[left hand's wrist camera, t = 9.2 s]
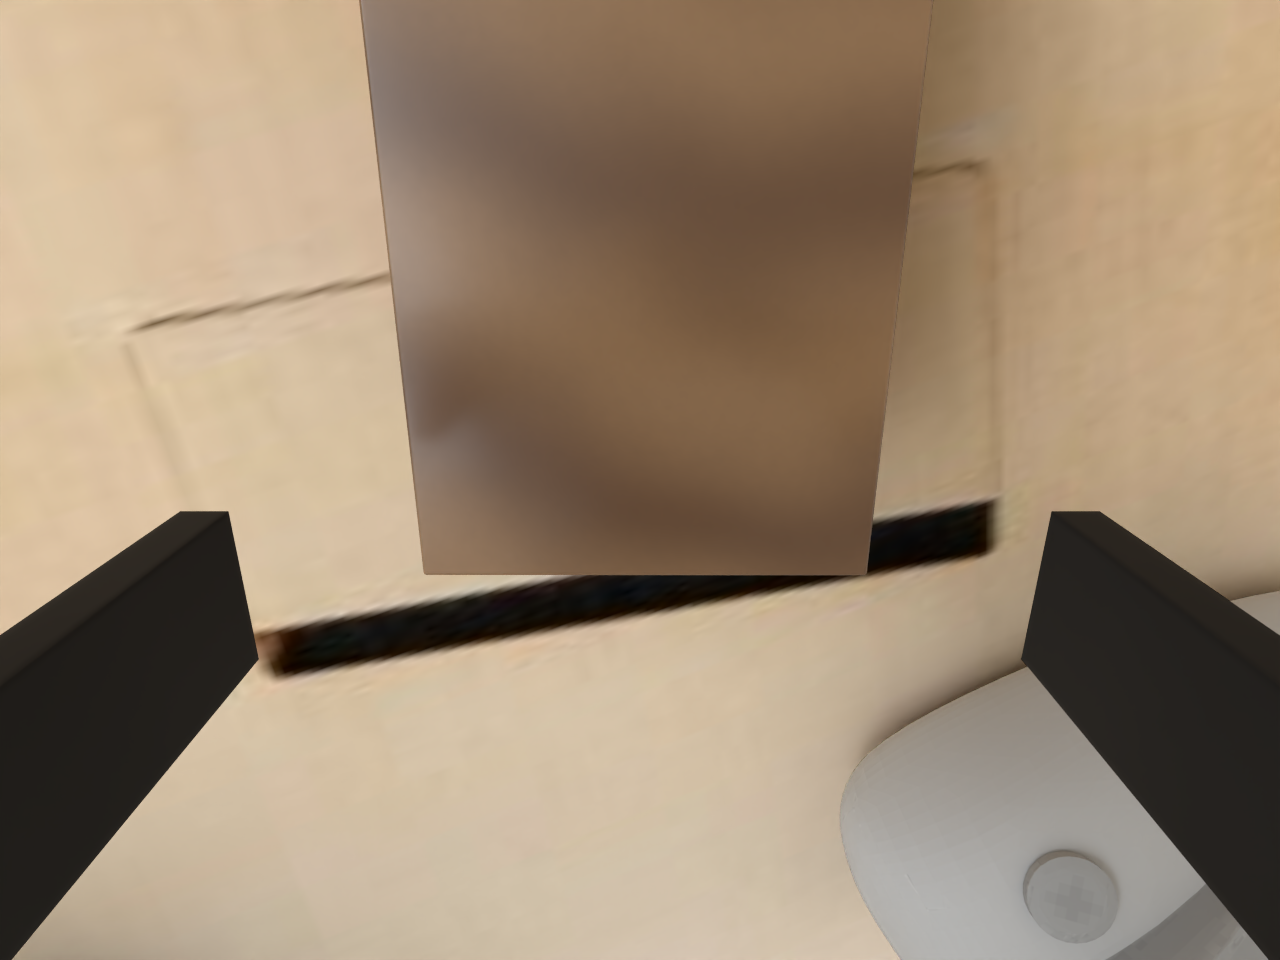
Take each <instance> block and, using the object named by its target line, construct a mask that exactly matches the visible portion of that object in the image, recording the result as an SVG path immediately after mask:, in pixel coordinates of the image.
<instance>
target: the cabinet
mask: <svg viewBox="0 0 1280 960" xmlns="http://www.w3.org/2000/svg"><path fill="white" fill-rule="evenodd" d="M359 3H360V12H361V21H362V29H363V38H364V47H365V56H366V65H367V74H368V83H369V91H370V100H371V109H372V118H373V127H374V136H375V145H376V154H377V162H378V171H379V180H380V189H381V198H382V207H383V216H384V224H385V233H386V242H387V251H388V260H389V269H390V278H391V287H392V295H393V304H394V313H395V322H396V331H397V340H398V349H399V357H400V366H401V375H402V384H403V393H404V402H405V411H406V419H407V428H408V437H409V446H410V455H411V464H412V473H413V482H414V490H415V499H416V508H417V517H418V526H419V535H420V544H421V552H422V561H423V570H424V574H426V575H866V573H867V565H868V556H869V548H870V539H871V530H872V522H873V513H874V505H875V496H876V487H877V479H878V470H879V462H880V453H881V445H882V436H883V427H884V419H885V410H886V402H887V393H888V385H889V376H890V367H891V359H892V350H893V342H894V333H895V324H896V316H897V307H898V299H899V290H900V282H901V273H902V264H903V256H904V247H905V239H906V230H907V222H908V213H909V204H910V196H911V187H912V179H913V170H914V161H915V153H916V144H917V136H918V127H919V119H920V110H921V101H922V93H923V84H924V76H925V67H926V59H927V50H928V41H929V33H930V24H931V16H932V7H933V0H359Z"/></svg>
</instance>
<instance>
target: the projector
mask: <svg viewBox="0 0 1280 960" xmlns="http://www.w3.org/2000/svg"><path fill="white" fill-rule="evenodd" d="M1231 602H1232V603H1234V604H1235V605H1237V606H1238V607H1239V608H1241V609H1242V610H1244V611H1245V612H1247V613H1248V614H1250V615H1251V616H1253V617H1254V618H1255V619H1257V620H1258V621H1260V622H1261V623H1263V624H1264V625H1266V626H1267V627H1269V628H1270V629H1271V630H1273V631H1274V632H1276V633H1277V634H1279V635H1280V591H1275V592H1270V593H1264V594H1259V595H1254V596H1249V597H1245V598H1240V599H1236V600H1231ZM840 829H841V836H842V842H843V845H844V849H845V853H846V857H847V861H848V864H849V867H850V870H851V873H852V875H853V878H854V881H855V883H856V885H857V888H858V890H859V892H860V894H861V896H862V898H863V900H864V902H865V904H866V906H867V908H868V909H869V911H870V913H871V915H872V916H873V918H874V920H875V921H876V923H877V925H878V926H879V928H880V929H881V931H882V932H883V934H884V935H885V937H886V939H887V940H888V942H889V943H890V945H891V946H892V948H893V949H894V951H895V952H896V953H897V955H898V956H899V958H900V959H901V960H1268V959H1267V957H1266V956H1265V955H1264V954H1263V952H1262V951H1261V950H1260V949H1259V948H1258V946H1257V945H1256V944H1255V943H1254V942H1253V940H1252V939H1251V938H1250V937H1249V935H1248V934H1247V933H1246V932H1245V931H1244V929H1243V928H1242V927H1241V926H1240V924H1239V923H1238V922H1237V921H1236V920H1235V918H1234V917H1233V916H1232V915H1231V914H1230V912H1229V911H1228V910H1227V909H1226V907H1225V906H1224V905H1223V904H1222V903H1221V901H1220V900H1219V899H1218V898H1217V897H1216V895H1215V894H1214V893H1213V892H1212V890H1211V889H1210V888H1209V887H1208V886H1207V884H1206V883H1205V882H1204V881H1203V879H1202V878H1201V877H1200V876H1199V875H1198V873H1197V872H1196V871H1195V870H1194V869H1193V867H1192V866H1191V865H1190V864H1189V862H1188V861H1187V860H1186V859H1185V858H1184V856H1183V855H1182V854H1181V853H1180V852H1179V850H1178V849H1177V848H1176V847H1175V845H1174V844H1173V843H1172V842H1171V841H1170V839H1169V838H1168V837H1167V836H1166V835H1165V833H1164V832H1163V831H1162V830H1161V828H1160V827H1159V826H1158V825H1157V824H1156V822H1155V821H1154V820H1153V819H1152V817H1151V816H1150V815H1149V814H1148V813H1147V811H1146V810H1145V809H1144V808H1143V807H1142V805H1141V804H1140V803H1139V802H1138V800H1137V799H1136V798H1135V797H1134V796H1133V794H1132V793H1131V792H1130V791H1129V790H1128V788H1127V787H1126V786H1125V785H1124V783H1123V782H1122V781H1121V780H1120V779H1119V777H1118V776H1117V775H1116V774H1115V772H1114V771H1113V770H1112V769H1111V768H1110V766H1109V765H1108V764H1107V763H1106V762H1105V760H1104V759H1103V758H1102V757H1101V755H1100V754H1099V753H1098V752H1097V751H1096V749H1095V748H1094V747H1093V746H1092V745H1091V743H1090V742H1089V741H1088V740H1087V738H1086V737H1085V736H1084V735H1083V734H1082V732H1081V731H1080V730H1079V729H1078V728H1077V726H1076V725H1075V724H1074V723H1073V721H1072V720H1071V719H1070V718H1069V717H1068V715H1067V714H1066V713H1065V712H1064V710H1063V709H1062V708H1061V707H1060V706H1059V704H1058V703H1057V702H1056V701H1055V700H1054V698H1053V697H1052V696H1051V695H1050V693H1049V692H1048V691H1047V690H1046V689H1045V687H1044V686H1043V685H1042V684H1041V683H1040V681H1039V680H1038V679H1037V678H1036V676H1035V675H1034V674H1033V673H1032V672H1031V670H1030V669H1029V668H1028V667H1025V668H1023V669H1021V670H1018V671H1016V672H1014V673H1011V674H1009V675H1007V676H1004V677H1002V678H1000V679H998V680H995V681H993V682H991V683H989V684H987V685H985V686H983V687H980V688H978V689H976V690H974V691H972V692H970V693H968V694H965V695H964V696H962V697H960V698H958V699H956V700H954V701H952V702H950V703H948V704H946V705H944V706H942V707H940V708H938V709H936V710H934V711H932V712H930V713H928V714H927V715H925V716H923V717H921V718H919V719H918V720H916V721H914V722H912V723H911V724H909V725H907V726H906V727H904V728H902V729H901V730H899V731H898V732H896V733H895V734H893V735H892V736H890V737H889V738H887V739H886V740H884V741H883V742H882V743H881V744H879V745H878V746H877V747H876V748H874V749H873V750H872V751H870V752H869V753H868V754H867V755H866V756H865V757H864V759H863V760H862V761H861V762H860V763H859V764H858V766H857V767H856V768H855V770H854V771H853V773H852V775H851V776H850V778H849V780H848V782H847V784H846V786H845V790H844V793H843V796H842V801H841V807H840Z"/></svg>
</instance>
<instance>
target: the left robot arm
mask: <svg viewBox="0 0 1280 960" xmlns="http://www.w3.org/2000/svg"><path fill="white" fill-rule="evenodd" d="M258 659H259V658H258V653H257V649H256V644H255V639H254V634H253V629H252V624H251V619H250V615H249V610H248V605H247V600H246V595H245V590H244V585H243V580H242V576H241V571H240V566H239V561H238V556H237V551H236V546H235V541H234V537H233V532H232V527H231V522H230V517H229V512H228V511H180V512H179V513H177V514H176V515H174V516H173V517H172V518H170V519H169V520H167V521H166V522H164V523H163V524H161V525H160V526H158V527H157V528H155V529H154V530H153V531H151V532H150V533H148V534H147V535H145V536H144V537H142V538H141V539H139V540H138V541H137V542H135V543H134V544H132V545H131V546H129V547H128V548H126V549H125V550H123V551H122V552H121V553H119V554H118V555H116V556H115V557H113V558H112V559H110V560H109V561H107V562H106V563H105V564H103V565H102V566H100V567H99V568H97V569H96V570H94V571H93V572H91V573H90V574H89V575H87V576H86V577H84V578H83V579H81V580H80V581H78V582H77V583H75V584H74V585H73V586H71V587H70V588H68V589H67V590H65V591H64V592H62V593H61V594H59V595H58V596H57V597H55V598H54V599H52V600H51V601H49V602H48V603H46V604H45V605H43V606H42V607H41V608H39V609H38V610H36V611H35V612H33V613H32V614H30V615H29V616H27V617H26V618H25V619H23V620H22V621H20V622H19V623H17V624H16V625H14V626H13V627H11V628H10V629H9V630H7V631H6V632H4V633H3V634H1V635H0V960H12V959H13V957H14V956H15V955H16V954H17V952H18V951H19V950H20V949H21V948H22V946H23V945H24V944H25V943H26V942H27V940H28V939H29V938H30V937H31V935H32V934H33V933H34V932H35V931H36V929H37V928H38V927H39V926H40V924H41V923H42V922H43V921H44V920H45V918H46V917H47V916H48V915H49V914H50V912H51V911H52V910H53V909H54V907H55V906H56V905H57V904H58V903H59V901H60V900H61V899H62V898H63V897H64V895H65V894H66V893H67V892H68V890H69V889H70V888H71V887H72V886H73V884H74V883H75V882H76V881H77V879H78V878H79V877H80V876H81V875H82V873H83V872H84V871H85V870H86V869H87V867H88V866H89V865H90V864H91V862H92V861H93V860H94V859H95V858H96V856H97V855H98V854H99V853H100V852H101V850H102V849H103V848H104V847H105V845H106V844H107V843H108V842H109V841H110V839H111V838H112V837H113V836H114V835H115V833H116V832H117V831H118V830H119V828H120V827H121V826H122V825H123V824H124V822H125V821H126V820H127V819H128V817H129V816H130V815H131V814H132V813H133V811H134V810H135V809H136V808H137V807H138V805H139V804H140V803H141V802H142V800H143V799H144V798H145V797H146V796H147V794H148V793H149V792H150V791H151V790H152V788H153V787H154V786H155V785H156V783H157V782H158V781H159V780H160V779H161V777H162V776H163V775H164V774H165V772H166V771H167V770H168V769H169V768H170V766H171V765H172V764H173V763H174V762H175V760H176V759H177V758H178V757H179V755H180V754H181V753H182V752H183V751H184V749H185V748H186V747H187V746H188V745H189V743H190V742H191V741H192V740H193V738H194V737H195V736H196V735H197V734H198V732H199V731H200V730H201V729H202V728H203V726H204V725H205V724H206V723H207V721H208V720H209V719H210V718H211V717H212V715H213V714H214V713H215V712H216V710H217V709H218V708H219V707H220V706H221V704H222V703H223V702H224V701H225V700H226V698H227V697H228V696H229V695H230V693H231V692H232V691H233V690H234V689H235V687H236V686H237V685H238V684H239V683H240V681H241V680H242V679H243V678H244V676H245V675H246V674H247V673H248V672H249V670H250V669H251V668H252V667H253V665H254V664H255V663H256V662H257V661H258ZM1021 659H1022V661H1023V662H1024V663H1025V664H1026V665H1027V667H1028V668H1029V669H1030V670H1031V672H1032V673H1033V674H1034V675H1035V676H1036V678H1037V679H1038V680H1039V681H1040V683H1041V684H1042V685H1043V686H1044V687H1045V689H1046V690H1047V691H1048V692H1049V693H1050V695H1051V696H1052V697H1053V698H1054V700H1055V701H1056V702H1057V703H1058V704H1059V706H1060V707H1061V708H1062V709H1063V710H1064V712H1065V713H1066V714H1067V715H1068V717H1069V718H1070V719H1071V720H1072V721H1073V723H1074V724H1075V725H1076V726H1077V728H1078V729H1079V730H1080V731H1081V732H1082V734H1083V735H1084V736H1085V737H1086V738H1087V740H1088V741H1089V742H1090V743H1091V745H1092V746H1093V747H1094V748H1095V749H1096V751H1097V752H1098V753H1099V754H1100V755H1101V757H1102V758H1103V759H1104V760H1105V762H1106V763H1107V764H1108V765H1109V766H1110V768H1111V769H1112V770H1113V771H1114V772H1115V774H1116V775H1117V776H1118V777H1119V779H1120V780H1121V781H1122V782H1123V783H1124V785H1125V786H1126V787H1127V788H1128V790H1129V791H1130V792H1131V793H1132V794H1133V796H1134V797H1135V798H1136V799H1137V800H1138V802H1139V803H1140V804H1141V805H1142V807H1143V808H1144V809H1145V810H1146V811H1147V813H1148V814H1149V815H1150V816H1151V817H1152V819H1153V820H1154V821H1155V822H1156V824H1157V825H1158V826H1159V827H1160V828H1161V830H1162V831H1163V832H1164V833H1165V835H1166V836H1167V837H1168V838H1169V839H1170V841H1171V842H1172V843H1173V844H1174V845H1175V847H1176V848H1177V849H1178V850H1179V852H1180V853H1181V854H1182V855H1183V856H1184V858H1185V859H1186V860H1187V861H1188V862H1189V864H1190V865H1191V866H1192V867H1193V869H1194V870H1195V871H1196V872H1197V873H1198V875H1199V876H1200V877H1201V878H1202V879H1203V881H1204V882H1205V883H1206V884H1207V886H1208V887H1209V888H1210V889H1211V890H1212V892H1213V893H1214V894H1215V895H1216V897H1217V898H1218V899H1219V900H1220V901H1221V903H1222V904H1223V905H1224V906H1225V907H1226V909H1227V910H1228V911H1229V912H1230V914H1231V915H1232V916H1233V917H1234V918H1235V920H1236V921H1237V922H1238V923H1239V924H1240V926H1241V927H1242V928H1243V929H1244V931H1245V932H1246V933H1247V934H1248V935H1249V937H1250V938H1251V939H1252V940H1253V942H1254V943H1255V944H1256V945H1257V946H1258V948H1259V949H1260V950H1261V951H1262V952H1263V954H1264V955H1265V956H1266V957H1267V959H1268V960H1280V635H1279V634H1277V633H1276V632H1274V631H1273V630H1271V629H1270V628H1269V627H1267V626H1266V625H1264V624H1263V623H1261V622H1260V621H1258V620H1257V619H1255V618H1254V617H1253V616H1251V615H1250V614H1248V613H1247V612H1245V611H1244V610H1242V609H1241V608H1239V607H1238V606H1237V605H1235V604H1234V603H1232V602H1231V601H1229V600H1228V599H1226V598H1225V597H1223V596H1222V595H1221V594H1219V593H1218V592H1216V591H1215V590H1213V589H1212V588H1210V587H1209V586H1207V585H1206V584H1205V583H1203V582H1202V581H1200V580H1199V579H1197V578H1196V577H1194V576H1193V575H1191V574H1190V573H1189V572H1187V571H1186V570H1184V569H1183V568H1181V567H1180V566H1178V565H1177V564H1175V563H1174V562H1173V561H1171V560H1170V559H1168V558H1167V557H1165V556H1164V555H1162V554H1161V553H1159V552H1158V551H1157V550H1155V549H1154V548H1152V547H1151V546H1149V545H1148V544H1146V543H1145V542H1143V541H1142V540H1141V539H1139V538H1138V537H1136V536H1135V535H1133V534H1132V533H1130V532H1129V531H1127V530H1126V529H1125V528H1123V527H1122V526H1120V525H1119V524H1117V523H1116V522H1114V521H1113V520H1111V519H1110V518H1108V517H1107V516H1106V515H1104V514H1103V513H1101V512H1100V511H1052V512H1051V517H1050V522H1049V527H1048V532H1047V537H1046V541H1045V546H1044V551H1043V556H1042V561H1041V566H1040V571H1039V576H1038V580H1037V585H1036V590H1035V595H1034V600H1033V605H1032V610H1031V614H1030V619H1029V624H1028V629H1027V634H1026V639H1025V644H1024V649H1023V653H1022V658H1021Z"/></svg>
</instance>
